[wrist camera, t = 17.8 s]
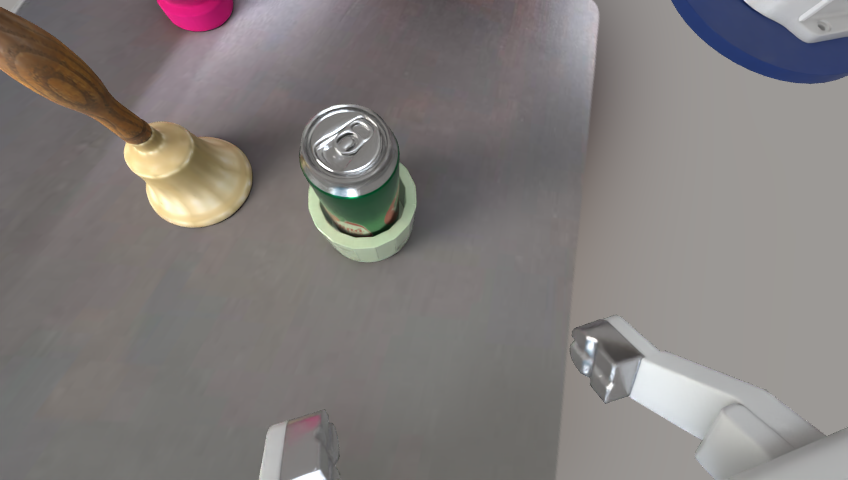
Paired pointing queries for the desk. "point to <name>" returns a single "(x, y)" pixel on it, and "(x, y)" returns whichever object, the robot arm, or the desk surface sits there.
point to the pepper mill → (197, 13)
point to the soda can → (353, 168)
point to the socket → (379, 244)
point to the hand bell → (132, 130)
